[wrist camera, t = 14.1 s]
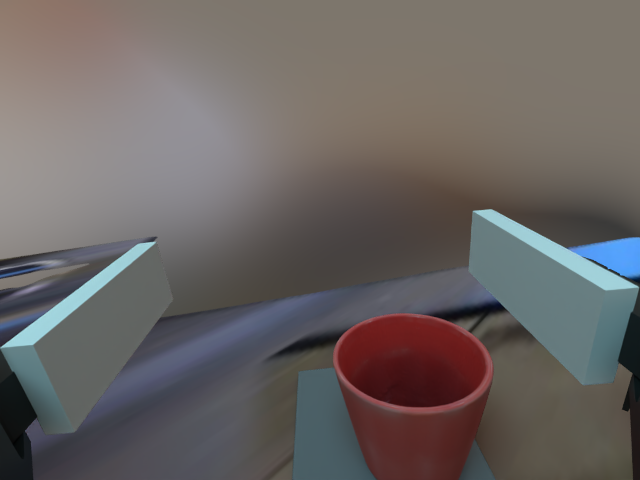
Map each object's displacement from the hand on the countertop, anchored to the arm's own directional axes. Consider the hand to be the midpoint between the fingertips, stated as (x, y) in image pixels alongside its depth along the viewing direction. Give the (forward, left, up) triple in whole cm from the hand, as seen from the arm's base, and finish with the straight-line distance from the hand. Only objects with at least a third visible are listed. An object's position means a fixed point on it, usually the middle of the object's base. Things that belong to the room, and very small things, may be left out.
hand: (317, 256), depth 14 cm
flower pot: (+5, +7, -21) cm, 23 cm away
